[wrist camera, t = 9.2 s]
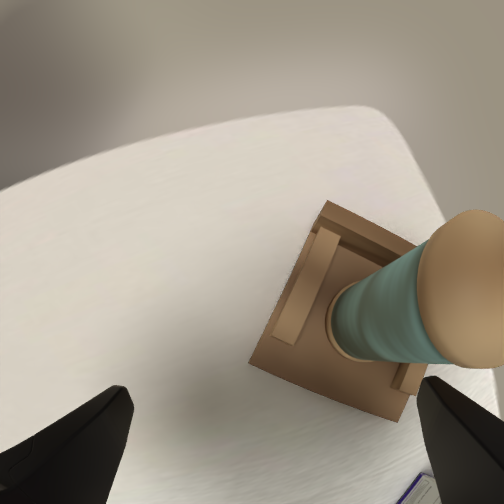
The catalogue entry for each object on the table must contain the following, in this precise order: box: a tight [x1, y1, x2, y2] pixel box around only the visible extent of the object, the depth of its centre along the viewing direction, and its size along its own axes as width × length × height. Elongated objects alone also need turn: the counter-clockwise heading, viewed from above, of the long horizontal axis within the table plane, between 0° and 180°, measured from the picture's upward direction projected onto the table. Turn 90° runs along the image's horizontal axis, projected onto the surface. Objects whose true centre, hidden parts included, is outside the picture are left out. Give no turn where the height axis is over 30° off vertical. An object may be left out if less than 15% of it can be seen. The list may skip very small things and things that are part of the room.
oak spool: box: [325, 210, 504, 369], centre depth 15 cm, size 6×6×13 cm
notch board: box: [248, 200, 428, 423], centre depth 20 cm, size 11×12×4 cm
